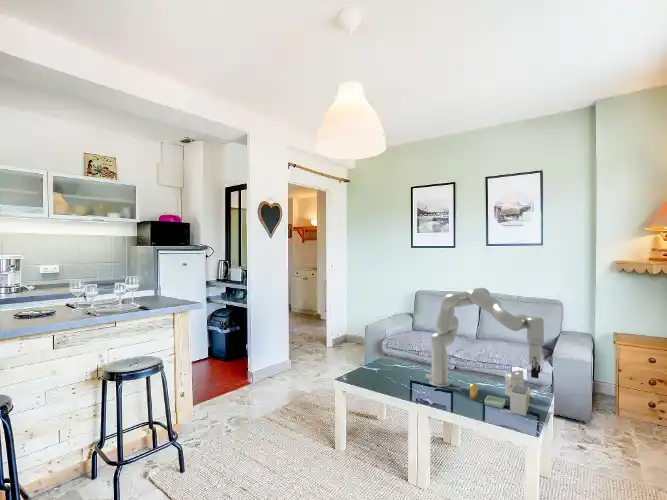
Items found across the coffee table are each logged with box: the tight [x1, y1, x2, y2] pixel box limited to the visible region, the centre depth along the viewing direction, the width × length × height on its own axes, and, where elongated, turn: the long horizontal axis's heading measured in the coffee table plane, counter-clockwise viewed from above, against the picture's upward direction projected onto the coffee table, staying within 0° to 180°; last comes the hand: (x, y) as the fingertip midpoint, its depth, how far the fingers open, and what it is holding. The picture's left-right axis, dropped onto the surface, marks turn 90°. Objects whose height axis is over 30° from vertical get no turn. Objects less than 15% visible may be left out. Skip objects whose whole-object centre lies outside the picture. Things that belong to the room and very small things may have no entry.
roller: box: [469, 382, 479, 401], centre depth 203 cm, size 4×4×8 cm
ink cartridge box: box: [504, 369, 524, 397], centre depth 208 cm, size 9×5×15 cm, turn 105°
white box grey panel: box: [509, 384, 530, 417], centre depth 190 cm, size 7×14×11 cm, turn 146°
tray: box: [483, 394, 507, 410], centre depth 197 cm, size 9×9×2 cm
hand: (535, 374), depth 186 cm, fingers open, 9 cm apart
